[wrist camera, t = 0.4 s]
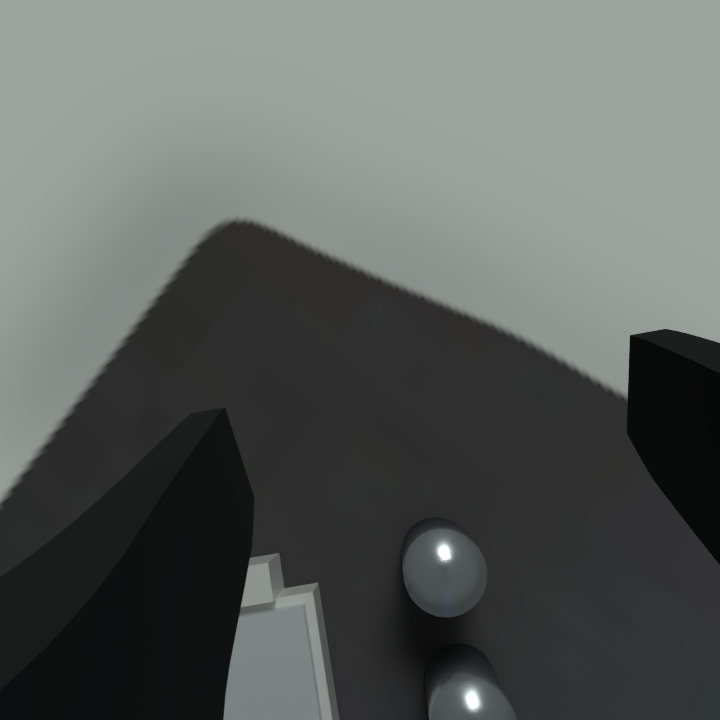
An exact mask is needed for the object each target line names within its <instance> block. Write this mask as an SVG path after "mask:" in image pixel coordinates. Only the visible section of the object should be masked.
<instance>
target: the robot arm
mask: <svg viewBox="0 0 720 720" xmlns="http://www.w3.org/2000/svg"><path fill="white" fill-rule="evenodd" d="M627 434H628V436H629V438H630V440H631V441H632V443H633V445H634V447H635V449H636V451H637V452H638V454H639V456H640V458H641V460H642V461H643V463H644V465H645V466H646V468H647V470H648V472H649V473H650V475H651V477H652V478H653V480H654V481H655V482H656V484H657V485H658V486H659V488H660V489H661V490H662V492H663V493H664V494H665V496H666V497H667V498H668V499H669V501H670V502H671V503H672V505H673V506H674V507H675V509H676V510H677V511H678V512H679V514H680V515H681V516H682V518H683V519H684V520H685V521H686V523H687V524H688V525H689V526H690V528H691V529H692V530H693V532H694V533H695V534H696V535H697V537H698V538H699V539H700V540H701V542H702V543H703V544H704V546H705V547H706V548H707V549H708V551H709V552H710V553H711V554H712V556H713V557H714V558H715V560H716V561H717V562H718V563H719V565H720V343H717V342H714V341H711V340H707V339H704V338H701V337H697V336H694V335H690V334H686V333H682V332H678V331H672V330H668V329H663V330H657V331H652V332H646V333H641V334H635V335H631V336H630V353H629V383H628V413H627ZM253 515H254V495H253V492H252V489H251V486H250V483H249V480H248V477H247V474H246V471H245V468H244V465H243V462H242V458H241V455H240V452H239V449H238V446H237V443H236V440H235V437H234V434H233V431H232V428H231V425H230V422H229V418H228V415H227V412H226V409H225V408H219V409H214V410H208V411H202V412H197V413H192V414H190V415H189V416H188V417H187V418H185V419H184V420H183V421H182V422H181V423H180V424H178V425H177V426H176V427H175V428H174V429H173V430H172V431H171V432H170V433H169V434H168V435H167V436H166V437H165V438H164V439H163V440H162V441H161V442H160V443H159V444H158V445H157V446H156V447H155V448H154V449H153V450H152V451H151V452H149V453H148V454H147V455H146V456H145V457H144V458H143V459H142V460H141V461H140V462H139V463H138V464H137V465H136V466H135V467H134V468H133V469H132V470H131V471H130V472H129V473H128V474H127V475H126V476H125V477H124V478H123V479H121V480H120V481H119V482H118V483H117V484H116V485H115V486H114V487H113V488H111V489H110V490H109V491H108V492H107V493H106V494H105V495H104V496H102V497H101V498H100V499H99V500H98V501H97V502H96V503H95V504H93V505H92V506H91V507H90V508H89V509H88V510H87V511H86V512H84V513H83V514H82V515H81V516H80V517H79V518H78V519H77V520H75V521H74V522H73V523H72V524H70V525H69V526H68V527H67V528H66V529H64V530H63V531H62V532H61V533H59V534H58V535H57V536H56V537H54V538H53V539H52V540H51V541H49V542H48V543H47V544H45V545H44V546H43V547H41V548H40V549H39V550H37V551H36V552H35V553H33V554H32V555H31V556H29V557H28V558H27V559H25V560H24V561H23V562H21V563H20V564H19V565H17V566H16V567H14V568H13V569H11V570H10V571H9V572H7V573H6V574H4V575H3V576H1V577H0V720H223V719H224V707H225V695H226V688H227V681H228V674H229V667H230V661H231V656H232V651H233V645H234V640H235V635H236V630H237V624H238V619H239V614H240V609H241V603H242V598H243V593H244V588H245V582H246V577H247V571H248V566H249V560H250V555H251V549H252V536H253Z"/></svg>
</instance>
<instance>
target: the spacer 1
mask: <svg viewBox="0 0 720 720" xmlns="http://www.w3.org/2000/svg"><path fill="white" fill-rule="evenodd" d="M401 556H402V567H403V577H404V583H405V587H406V589H407V592H408V594H409V596H410V597H411V599H412V600H413V601H414V602H415V604H416V605H417V606H419V607H420V608H421V609H422V610H424V611H425V612H427V613H429V614H431V615H434V616H438V617H455V616H459V615H461V614H464V613H466V612H467V611H469V610H470V609H472V608H473V607H474V606H475V605H476V604H477V603H478V601H479V600H480V599H481V597H482V595H483V593H484V590H485V587H486V583H487V567H486V563H485V560H484V557H483V555H482V553H481V551H480V550H479V548H478V547H477V546H476V545H475V544H474V543H473V541H472V540H471V539H470V538H469V537H468V536H467V535H466V534H465V533H464V532H463V531H462V530H461V529H460V528H459V527H458V526H457V525H456V524H454V523H453V522H451V521H449V520H446V519H443V518H428V519H424V520H422V521H420V522H418V523H416V524H415V525H414V526H413V527H412V528H411V529H410V530H409V531H408V532H407V534H406V536H405V538H404V540H403V544H402V549H401Z"/></svg>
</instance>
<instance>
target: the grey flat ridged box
mask: <svg viewBox="0 0 720 720" xmlns="http://www.w3.org/2000/svg"><path fill="white" fill-rule="evenodd" d="M223 720H339V714H338V707H337V701H336V694H335V688H334V681H333V675H332V668H331V662H330V655H329V649H328V642H327V636H326V629H325V623H324V617H323V610H322V604H321V597H320V591H319V584H318V583H313V584H307V585H301V586H295V587H290V588H284V582H283V576H282V569H281V562H280V555H279V553H276V554H271V555H265V556H259V557H253V558H250V560H249V566H248V571H247V577H246V582H245V588H244V593H243V598H242V603H241V609H240V614H239V619H238V624H237V630H236V635H235V640H234V645H233V651H232V656H231V661H230V667H229V674H228V681H227V688H226V695H225V707H224V719H223Z"/></svg>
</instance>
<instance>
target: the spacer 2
mask: <svg viewBox="0 0 720 720" xmlns="http://www.w3.org/2000/svg"><path fill="white" fill-rule="evenodd" d="M424 686H425V693H426V701H427V708H428V715H429V720H517V719H516V716H515V713H514V711H513V709H512V707H511V704H510V702H509V700H508V698H507V696H506V694H505V692H504V690H503V688H502V685H501V683H500V681H499V679H498V677H497V675H496V673H495V671H494V669H493V667H492V665H491V663H490V661H489V660H488V658H487V657H486V656H485V655H484V654H483V653H482V652H481V651H479V650H478V649H476V648H474V647H472V646H470V645H466V644H451V645H448V646H445V647H443V648H441V649H440V650H438V651H437V652H436V653H435V654H434V655H433V656H432V657H431V659H430V660H429V662H428V664H427V667H426V670H425V675H424Z"/></svg>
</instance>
